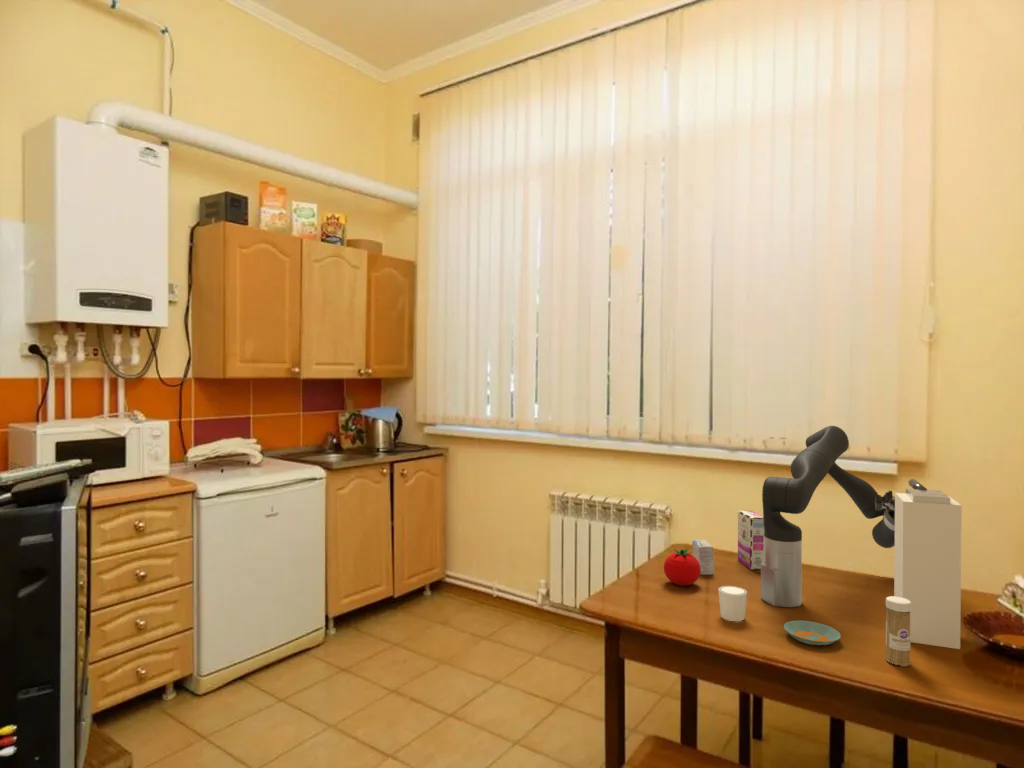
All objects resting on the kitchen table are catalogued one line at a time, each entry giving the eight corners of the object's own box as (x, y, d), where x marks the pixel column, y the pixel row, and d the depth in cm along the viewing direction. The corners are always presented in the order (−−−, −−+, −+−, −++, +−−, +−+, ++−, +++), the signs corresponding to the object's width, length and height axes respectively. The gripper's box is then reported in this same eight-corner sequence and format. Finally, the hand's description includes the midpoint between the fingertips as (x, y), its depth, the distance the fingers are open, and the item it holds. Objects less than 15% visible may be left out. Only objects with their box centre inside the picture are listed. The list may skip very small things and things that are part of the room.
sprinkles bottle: (897, 668, 128) (897, 604, 128) (880, 658, 133) (880, 596, 132) (916, 666, 129) (916, 602, 129) (898, 656, 134) (898, 594, 133)
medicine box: (713, 575, 188) (713, 546, 187) (699, 575, 188) (699, 546, 188) (706, 567, 195) (706, 539, 195) (692, 567, 196) (692, 539, 195)
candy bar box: (766, 570, 192) (766, 517, 191) (750, 570, 192) (750, 518, 191) (752, 559, 203) (752, 509, 202) (737, 559, 203) (737, 510, 202)
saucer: (791, 625, 151) (791, 615, 151) (845, 638, 143) (845, 628, 143) (777, 641, 142) (777, 631, 142) (834, 656, 134) (834, 645, 134)
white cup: (717, 620, 153) (717, 592, 153) (718, 610, 159) (718, 583, 159) (747, 624, 151) (747, 596, 151) (747, 614, 157) (747, 587, 157)
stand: (960, 649, 137) (961, 505, 136) (902, 640, 141) (903, 501, 141) (947, 630, 147) (949, 496, 146) (894, 622, 151) (894, 492, 151)
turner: (950, 504, 138) (950, 495, 137) (913, 501, 140) (913, 492, 140) (929, 487, 157) (929, 480, 157) (897, 485, 160) (897, 478, 160)
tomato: (657, 585, 179) (657, 550, 179) (673, 576, 187) (673, 543, 187) (691, 593, 172) (691, 557, 172) (706, 583, 180) (706, 549, 180)
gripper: (870, 500, 179) (877, 480, 166) (928, 504, 173) (940, 483, 160) (872, 525, 176) (879, 506, 163) (931, 530, 170) (944, 511, 157)
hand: (910, 495), depth 162 cm, fingers open, 8 cm apart
